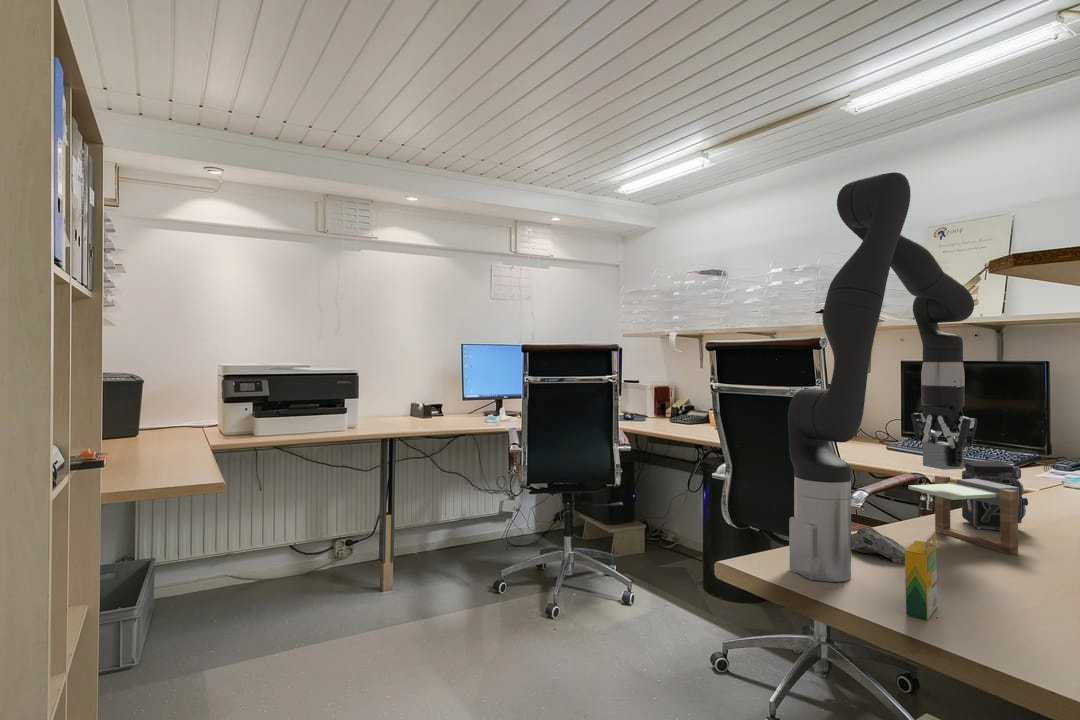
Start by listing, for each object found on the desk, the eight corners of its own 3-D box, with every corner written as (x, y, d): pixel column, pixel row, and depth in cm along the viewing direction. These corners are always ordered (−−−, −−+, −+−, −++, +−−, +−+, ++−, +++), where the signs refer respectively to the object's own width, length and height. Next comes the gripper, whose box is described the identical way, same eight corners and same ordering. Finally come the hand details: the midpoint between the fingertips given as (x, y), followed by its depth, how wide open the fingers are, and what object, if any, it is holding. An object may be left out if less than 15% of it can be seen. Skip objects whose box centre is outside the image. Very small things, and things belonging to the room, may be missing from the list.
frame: (1010, 554, 115) (1009, 491, 115) (935, 530, 132) (934, 475, 132) (1018, 553, 116) (1017, 491, 116) (942, 530, 132) (942, 475, 132)
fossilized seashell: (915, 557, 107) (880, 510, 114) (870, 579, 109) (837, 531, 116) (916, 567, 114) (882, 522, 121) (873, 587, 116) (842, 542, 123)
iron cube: (943, 469, 119) (943, 445, 119) (922, 465, 124) (922, 442, 124) (963, 468, 120) (963, 444, 120) (942, 464, 125) (942, 441, 125)
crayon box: (915, 601, 92) (914, 528, 92) (937, 606, 90) (937, 531, 90) (904, 615, 87) (904, 537, 87) (927, 621, 85) (927, 542, 85)
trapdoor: (956, 510, 115) (956, 492, 115) (904, 496, 127) (904, 480, 128) (1026, 506, 119) (1026, 488, 119) (969, 493, 131) (969, 477, 131)
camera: (1032, 536, 128) (1032, 468, 128) (976, 531, 131) (975, 465, 132) (1011, 523, 138) (1011, 460, 138) (959, 519, 141) (959, 458, 141)
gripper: (899, 382, 128) (899, 459, 128) (959, 384, 114) (959, 471, 114) (928, 382, 130) (928, 458, 130) (989, 384, 116) (990, 469, 116)
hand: (942, 463), depth 122 cm, fingers closed on iron cube, 5 cm apart
